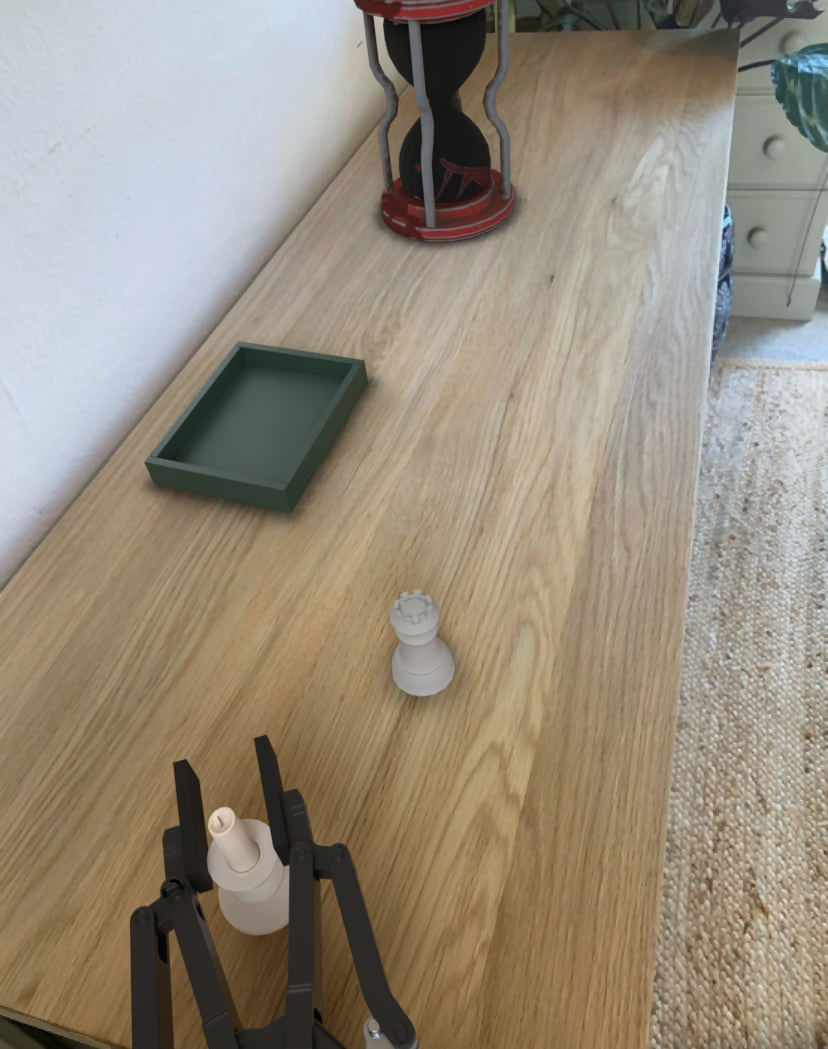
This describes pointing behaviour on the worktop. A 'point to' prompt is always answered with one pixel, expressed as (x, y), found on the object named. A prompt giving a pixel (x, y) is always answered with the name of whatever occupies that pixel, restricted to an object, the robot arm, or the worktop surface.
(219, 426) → the tray
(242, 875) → the candle
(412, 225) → the hourglass
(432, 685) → the rook chess piece
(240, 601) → the worktop surface
